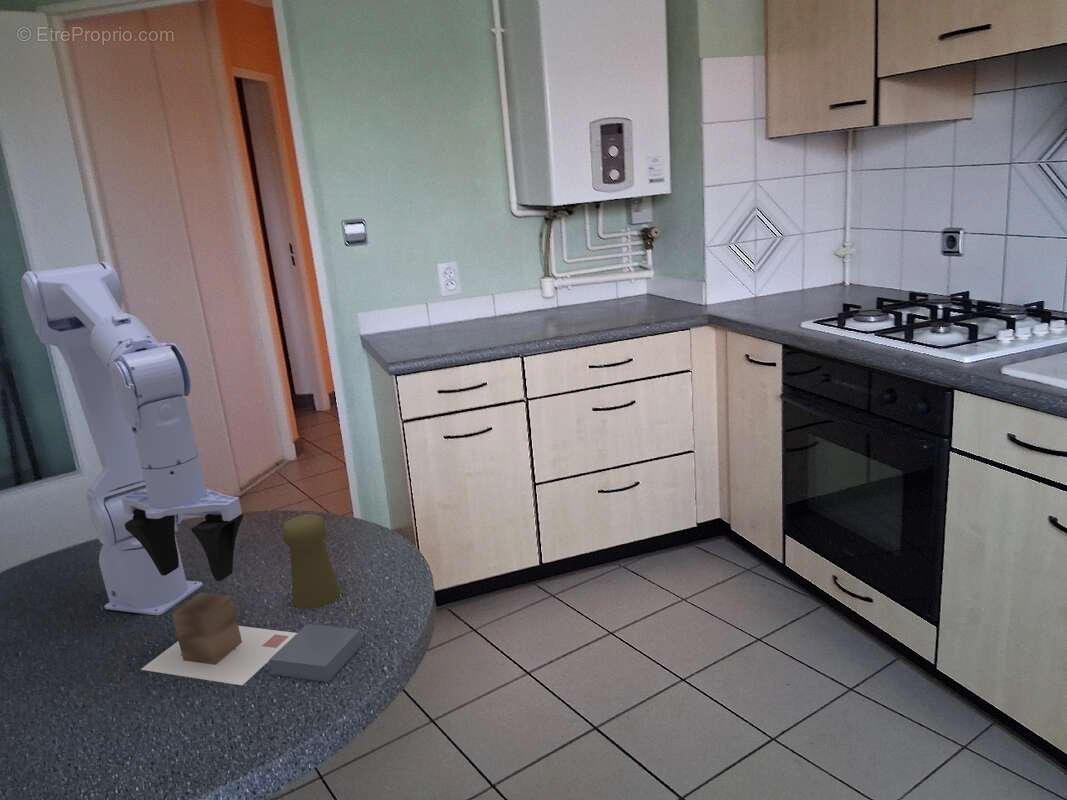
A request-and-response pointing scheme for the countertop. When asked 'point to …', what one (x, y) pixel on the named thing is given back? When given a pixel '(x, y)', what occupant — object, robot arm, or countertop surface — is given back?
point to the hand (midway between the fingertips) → (196, 574)
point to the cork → (310, 562)
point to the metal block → (316, 652)
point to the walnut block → (207, 628)
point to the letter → (226, 658)
